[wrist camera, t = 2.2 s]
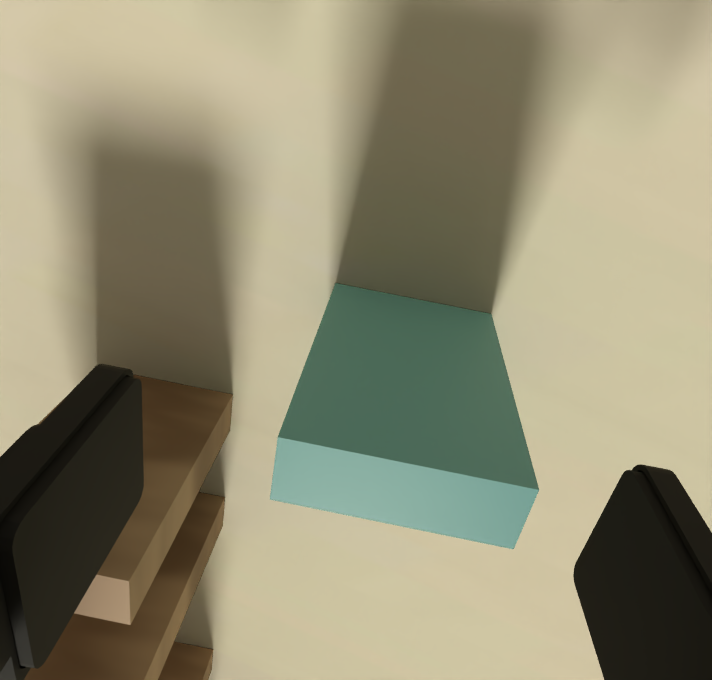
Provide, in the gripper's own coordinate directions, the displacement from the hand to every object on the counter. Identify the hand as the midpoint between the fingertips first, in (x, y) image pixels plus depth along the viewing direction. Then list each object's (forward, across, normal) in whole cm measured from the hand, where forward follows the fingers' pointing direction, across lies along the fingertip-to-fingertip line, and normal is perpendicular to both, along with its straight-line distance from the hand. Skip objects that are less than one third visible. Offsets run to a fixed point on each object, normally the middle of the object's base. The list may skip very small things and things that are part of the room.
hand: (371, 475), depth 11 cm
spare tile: (+8, -1, 0) cm, 8 cm away
